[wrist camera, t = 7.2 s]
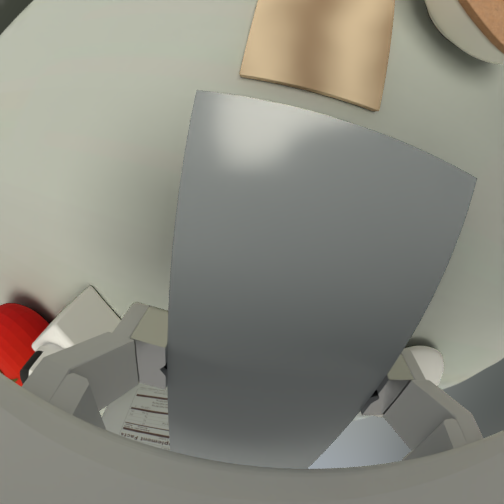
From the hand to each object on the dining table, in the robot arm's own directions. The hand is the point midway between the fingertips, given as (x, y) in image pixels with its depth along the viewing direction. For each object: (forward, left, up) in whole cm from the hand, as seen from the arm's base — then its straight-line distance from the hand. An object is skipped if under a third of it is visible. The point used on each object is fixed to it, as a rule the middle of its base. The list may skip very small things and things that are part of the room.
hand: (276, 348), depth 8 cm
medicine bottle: (+16, +15, -14) cm, 26 cm away
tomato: (+26, +21, -14) cm, 36 cm away
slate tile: (0, 0, -1) cm, 1 cm away
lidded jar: (-12, -23, -14) cm, 30 cm away
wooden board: (-1, -18, -14) cm, 23 cm away
